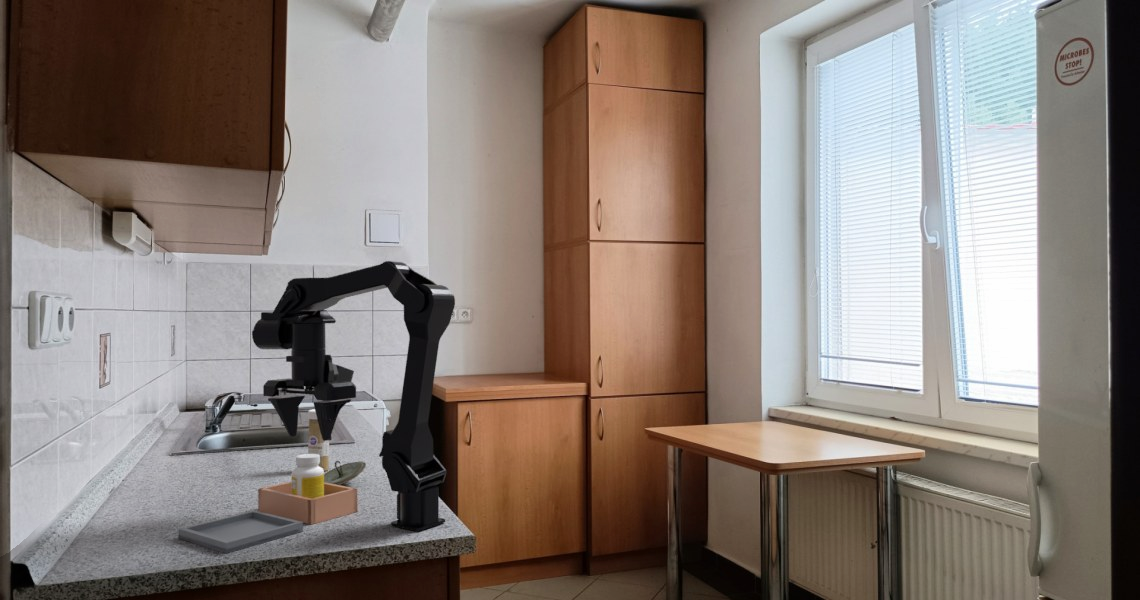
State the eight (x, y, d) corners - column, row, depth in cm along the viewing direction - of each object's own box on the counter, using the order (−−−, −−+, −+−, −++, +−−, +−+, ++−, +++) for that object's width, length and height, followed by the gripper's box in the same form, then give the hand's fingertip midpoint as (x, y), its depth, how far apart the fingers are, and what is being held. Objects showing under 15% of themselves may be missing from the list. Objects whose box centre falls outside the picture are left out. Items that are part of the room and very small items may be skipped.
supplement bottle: (330, 508, 134) (330, 453, 134) (311, 516, 128) (312, 459, 129) (303, 506, 135) (303, 452, 135) (284, 514, 130) (284, 457, 130)
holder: (357, 511, 132) (357, 488, 132) (311, 524, 124) (311, 500, 124) (304, 500, 140) (304, 478, 140) (258, 511, 132) (258, 488, 132)
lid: (373, 486, 151) (373, 461, 151) (323, 493, 145) (323, 467, 145) (356, 477, 160) (356, 453, 160) (308, 483, 154) (308, 458, 154)
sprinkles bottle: (304, 472, 164) (304, 410, 164) (312, 468, 168) (312, 408, 168) (325, 472, 164) (325, 410, 164) (332, 468, 168) (332, 408, 168)
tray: (302, 531, 120) (302, 522, 120) (226, 553, 109) (226, 543, 109) (254, 519, 127) (254, 510, 127) (178, 538, 116) (178, 528, 116)
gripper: (379, 348, 134) (380, 435, 134) (313, 347, 145) (314, 428, 144) (328, 351, 125) (329, 445, 125) (261, 349, 135) (261, 436, 135)
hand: (309, 438), depth 132 cm, fingers open, 9 cm apart
